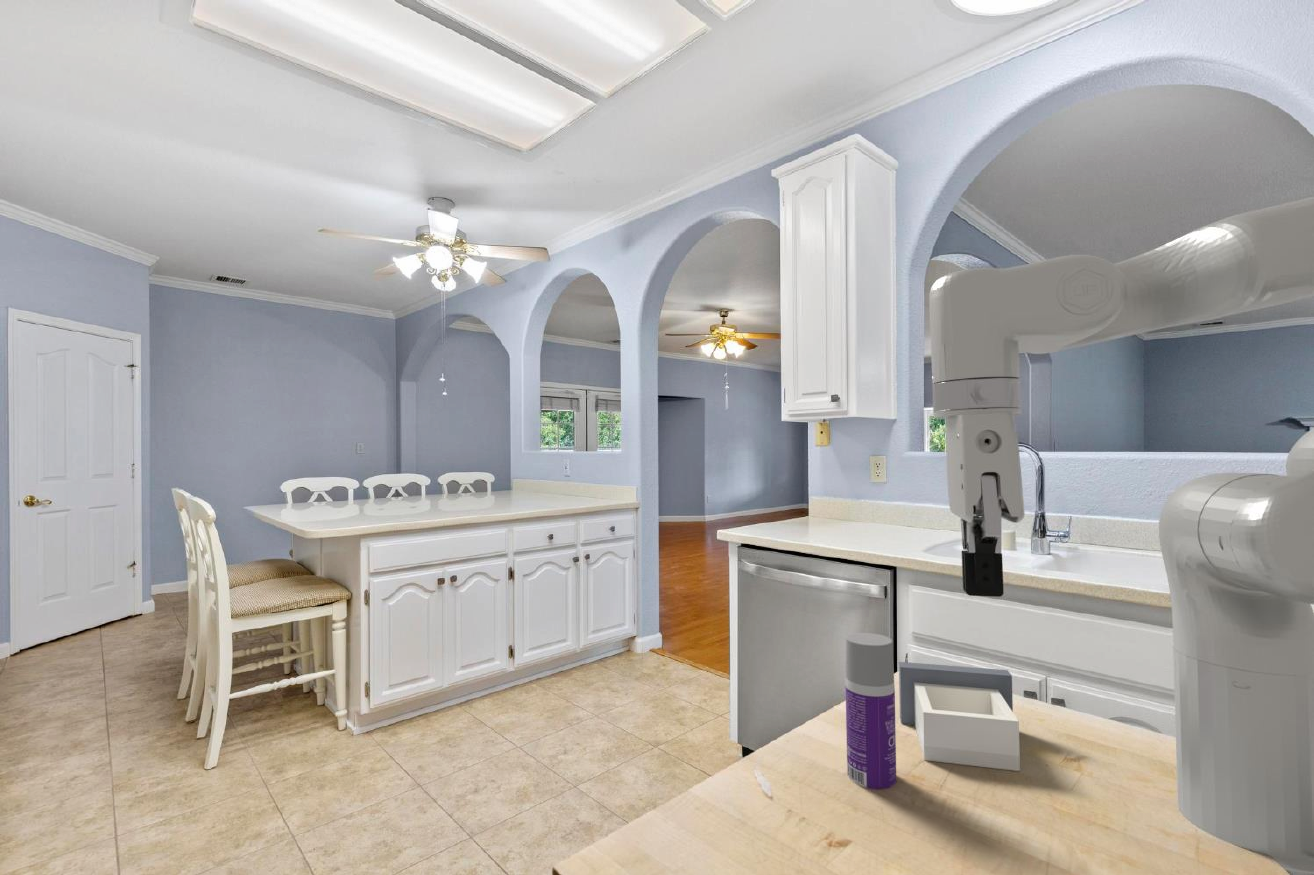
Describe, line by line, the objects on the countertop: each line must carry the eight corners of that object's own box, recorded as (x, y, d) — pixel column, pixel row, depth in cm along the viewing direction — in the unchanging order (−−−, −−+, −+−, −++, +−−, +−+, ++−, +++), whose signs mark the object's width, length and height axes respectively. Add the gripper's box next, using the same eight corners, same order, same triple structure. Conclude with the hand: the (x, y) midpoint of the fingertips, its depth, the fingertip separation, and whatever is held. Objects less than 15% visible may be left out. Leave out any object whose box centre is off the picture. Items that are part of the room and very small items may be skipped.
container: (900, 804, 61) (897, 646, 61) (849, 799, 62) (847, 644, 62) (892, 780, 65) (889, 633, 66) (845, 775, 66) (842, 631, 67)
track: (1009, 738, 74) (1007, 670, 75) (1063, 831, 56) (1061, 740, 56) (900, 727, 78) (898, 661, 78) (918, 811, 60) (916, 725, 60)
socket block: (998, 733, 73) (997, 689, 73) (1020, 771, 64) (1018, 721, 64) (914, 724, 75) (914, 682, 76) (924, 760, 67) (923, 712, 67)
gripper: (1043, 392, 53) (1053, 615, 52) (1000, 405, 67) (1007, 580, 66) (945, 397, 55) (953, 611, 54) (923, 408, 69) (929, 578, 68)
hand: (983, 593), depth 60 cm, fingers closed
